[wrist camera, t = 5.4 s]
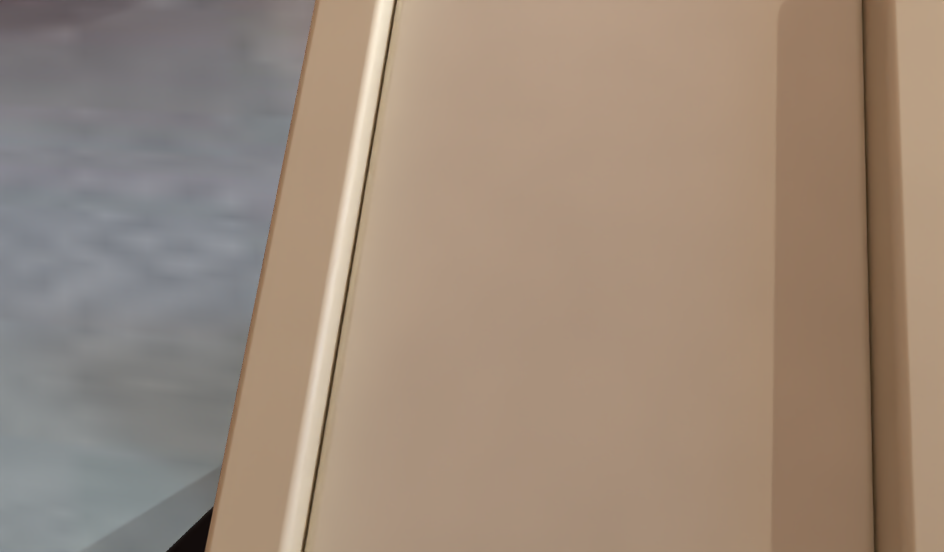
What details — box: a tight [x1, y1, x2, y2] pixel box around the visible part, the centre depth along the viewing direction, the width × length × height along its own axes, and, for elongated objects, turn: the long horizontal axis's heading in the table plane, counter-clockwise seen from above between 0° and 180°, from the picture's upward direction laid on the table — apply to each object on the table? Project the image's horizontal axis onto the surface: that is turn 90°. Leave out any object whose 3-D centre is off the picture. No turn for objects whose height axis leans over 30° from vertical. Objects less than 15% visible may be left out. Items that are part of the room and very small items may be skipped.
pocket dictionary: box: [205, 0, 944, 552], centre depth 9 cm, size 8×4×12 cm, turn 173°
